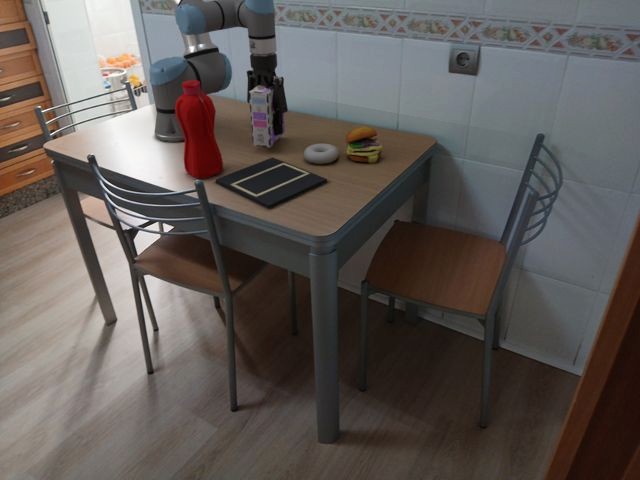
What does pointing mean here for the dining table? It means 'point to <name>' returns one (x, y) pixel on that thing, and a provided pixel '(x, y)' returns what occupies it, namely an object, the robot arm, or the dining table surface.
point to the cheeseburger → (363, 145)
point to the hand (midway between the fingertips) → (268, 130)
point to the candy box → (262, 117)
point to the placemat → (271, 182)
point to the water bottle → (198, 131)
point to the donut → (321, 153)
